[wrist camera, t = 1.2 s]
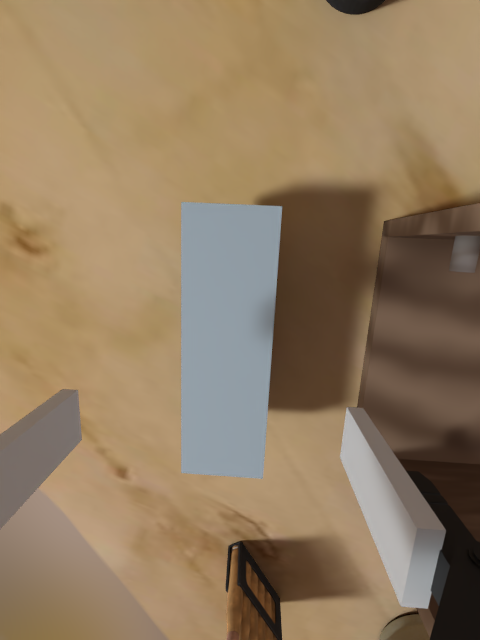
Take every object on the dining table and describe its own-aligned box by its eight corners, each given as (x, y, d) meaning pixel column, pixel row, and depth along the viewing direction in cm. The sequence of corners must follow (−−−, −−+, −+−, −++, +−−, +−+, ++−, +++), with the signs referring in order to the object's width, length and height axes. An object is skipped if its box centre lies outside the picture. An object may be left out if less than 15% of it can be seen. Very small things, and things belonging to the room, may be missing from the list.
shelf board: (192, 208, 26) (181, 202, 22) (277, 212, 25) (282, 206, 21) (190, 444, 31) (181, 472, 27) (261, 448, 30) (262, 478, 27)
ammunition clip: (227, 545, 40) (216, 670, 28) (240, 540, 39) (234, 663, 28) (267, 603, 42) (272, 742, 30) (280, 598, 41) (290, 737, 30)
